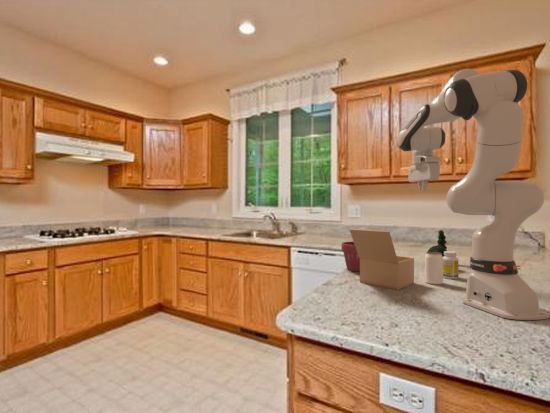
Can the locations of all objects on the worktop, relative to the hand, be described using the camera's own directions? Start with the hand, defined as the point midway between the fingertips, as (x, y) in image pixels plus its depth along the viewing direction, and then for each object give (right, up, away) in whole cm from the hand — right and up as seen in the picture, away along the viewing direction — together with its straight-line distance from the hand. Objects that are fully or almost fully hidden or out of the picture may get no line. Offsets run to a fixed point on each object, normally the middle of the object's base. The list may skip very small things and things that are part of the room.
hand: (422, 191), depth 145 cm
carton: (-21, -37, -15) cm, 46 cm away
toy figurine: (+16, -37, +17) cm, 44 cm away
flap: (-29, -21, -23) cm, 42 cm away
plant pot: (-27, -37, +10) cm, 47 cm away
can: (-3, -38, -16) cm, 41 cm away
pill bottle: (+9, -37, -7) cm, 39 cm away
